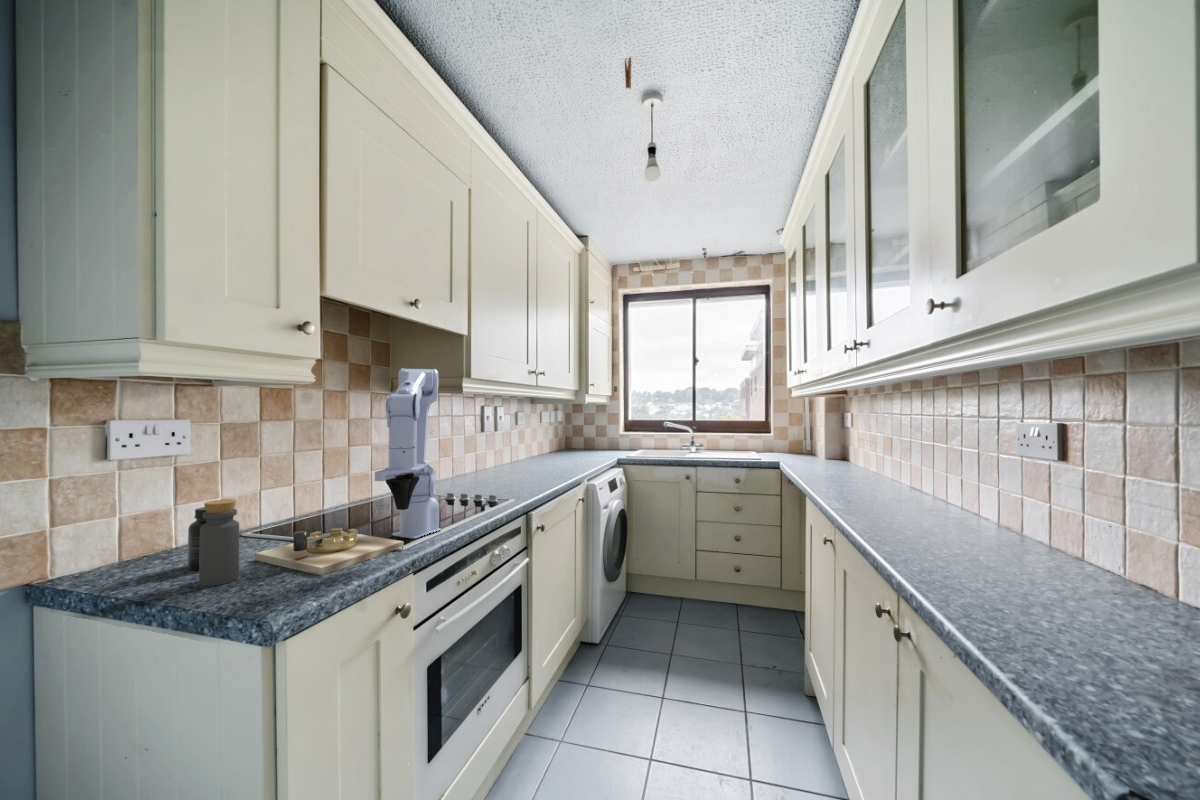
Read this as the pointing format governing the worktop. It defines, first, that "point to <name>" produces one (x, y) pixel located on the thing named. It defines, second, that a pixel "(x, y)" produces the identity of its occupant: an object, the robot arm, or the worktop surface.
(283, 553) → the base board
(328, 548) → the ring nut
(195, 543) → the supplement bottle
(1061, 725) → the worktop surface
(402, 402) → the robot arm
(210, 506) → the bottle
